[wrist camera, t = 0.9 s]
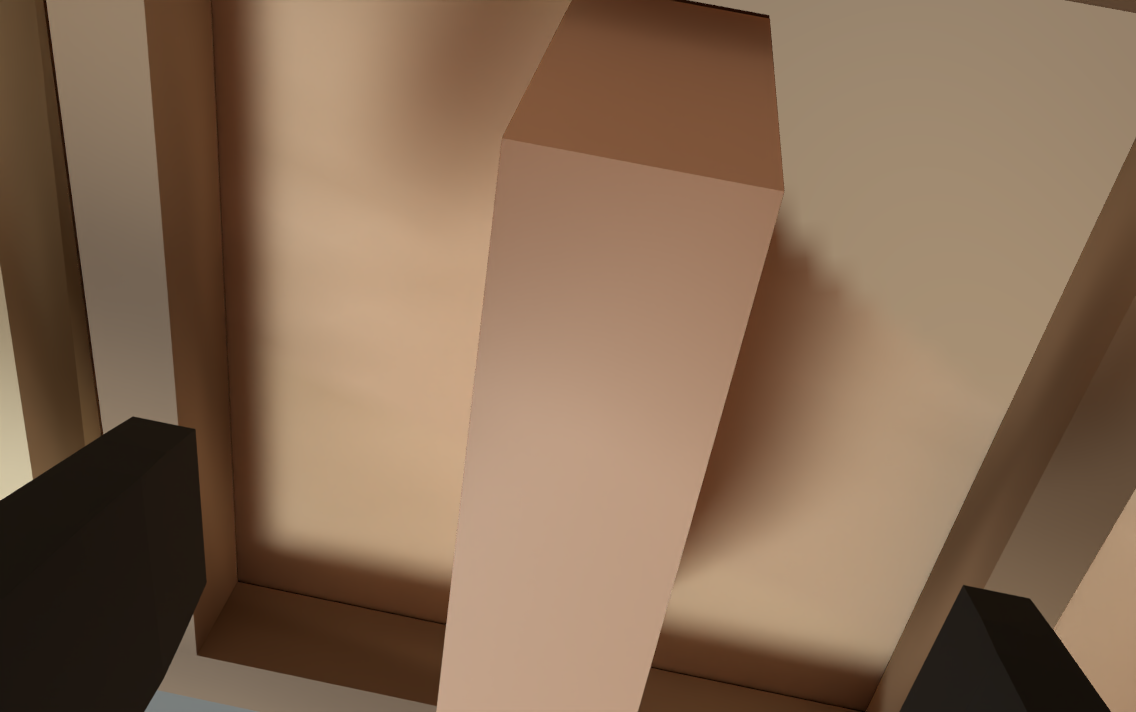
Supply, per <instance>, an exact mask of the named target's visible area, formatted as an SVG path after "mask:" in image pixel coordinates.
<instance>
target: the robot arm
mask: <svg viewBox="0 0 1136 712" xmlns="http://www.w3.org/2000/svg"><path fill="white" fill-rule="evenodd" d="M206 583H207V579H206V566H205V552H204V538H203V524H202V510H201V497H200V483H199V469H198V455H197V441H196V429H193V428H188V427H183V426H178V425H173V424H168V423H163V422H158V421H153V420H149V419H144V418H139V417H134V416H133V417H131V418H129V419H128V420H126V421H124V422H123V423H121V424H120V425H118V426H116V427H115V428H113V429H111V430H110V431H108V432H107V433H105V434H103V435H102V436H100V437H99V438H97V439H96V440H94V441H92V442H91V443H89V444H88V445H86V446H85V447H83V448H82V449H80V450H78V451H77V452H75V453H74V454H72V455H71V456H69V457H67V458H66V459H64V460H63V461H61V462H60V463H58V464H57V465H55V466H53V467H52V468H50V469H49V470H47V471H46V472H44V473H43V474H41V475H39V476H38V477H36V478H35V479H33V480H32V481H30V482H28V483H27V484H25V485H24V486H22V487H21V488H19V489H17V490H16V491H14V492H13V493H11V494H10V495H8V496H6V497H5V498H3V499H2V500H0V712H144V711H145V710H146V708H147V706H148V705H149V703H150V701H151V700H152V698H153V696H154V695H155V693H156V691H157V689H158V688H159V686H160V684H161V683H162V681H163V679H164V677H165V675H166V673H167V671H168V669H169V666H170V664H171V662H172V660H173V658H174V656H175V653H176V651H177V649H178V647H179V645H180V643H181V641H182V638H183V636H184V634H185V632H186V629H187V627H188V625H189V622H190V620H191V618H192V616H193V613H194V611H195V609H196V606H197V604H198V602H199V599H200V597H201V595H202V593H203V590H204V588H205V586H206ZM899 712H1111V711H1110V710H1109V708H1108V707H1107V706H1106V704H1105V703H1104V701H1103V700H1102V698H1101V697H1100V696H1099V694H1098V693H1097V691H1096V690H1095V689H1094V687H1093V686H1092V684H1091V683H1090V681H1089V680H1088V679H1087V677H1086V676H1085V674H1084V673H1083V672H1082V670H1081V669H1080V667H1079V666H1078V664H1077V663H1076V662H1075V660H1074V659H1073V657H1072V656H1071V654H1070V653H1069V652H1068V650H1067V649H1066V647H1065V646H1064V644H1063V643H1062V642H1061V640H1060V639H1059V637H1058V636H1057V635H1056V633H1055V632H1054V630H1053V629H1052V628H1051V626H1050V625H1049V623H1048V622H1047V621H1046V619H1045V618H1044V617H1043V615H1042V614H1041V612H1040V611H1039V610H1038V608H1037V607H1036V606H1035V604H1034V603H1033V602H1032V600H1031V599H1030V598H1025V597H1020V596H1015V595H1010V594H1006V593H1001V592H996V591H991V590H986V589H981V588H976V587H971V586H966V585H963V586H962V588H961V590H960V592H959V594H958V596H957V598H956V600H955V602H954V604H953V606H952V608H951V610H950V612H949V614H948V616H947V618H946V620H945V622H944V624H943V626H942V628H941V630H940V632H939V634H938V636H937V638H936V640H935V642H934V644H933V646H932V648H931V650H930V652H929V654H928V656H927V658H926V660H925V662H924V664H923V666H922V668H921V670H920V672H919V673H918V675H917V677H916V679H915V681H914V683H913V685H912V687H911V689H910V691H909V693H908V695H907V697H906V699H905V701H904V703H903V705H902V707H901V709H900V711H899Z"/></svg>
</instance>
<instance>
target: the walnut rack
mask: <svg viewBox="0 0 1136 712" xmlns="http://www.w3.org/2000/svg"><path fill="white" fill-rule="evenodd" d="M1067 1H1073V2H1079V3H1084V4H1089V5H1095V6H1101V7H1106V8H1112V9H1117V10H1123V11H1128V12H1133V13H1136V0H1067ZM46 2H47V10H48V18H49V25H50V33H51V40H52V48H53V56H54V63H55V71H56V78H57V86H58V94H59V101H60V109H61V116H62V124H63V132H64V139H65V147H66V154H67V162H68V169H69V177H70V185H71V192H72V200H73V207H74V215H75V223H76V230H77V238H78V245H79V253H80V261H81V268H82V276H83V283H84V291H85V299H86V306H87V314H88V321H89V329H90V337H91V344H92V352H93V359H94V367H95V375H96V382H97V390H98V397H99V405H100V413H101V420H102V428H103V434H105V433H107V432H108V431H110V430H111V429H113V428H115V427H116V426H118V425H120V424H121V423H123V422H124V421H126V420H128V419H129V418H131V417H133V416H134V417H139V418H144V419H149V420H153V421H158V422H163V423H168V424H173V425H178V426H183V427H188V428H193V429H196V441H197V455H198V469H199V483H200V497H201V510H202V524H203V538H204V552H205V566H206V579H207V583H206V586H205V588H204V590H203V593H202V595H201V597H200V599H199V602H198V604H197V606H196V609H195V611H194V613H193V616H192V618H191V620H190V622H189V625H188V627H187V629H186V632H185V634H184V636H183V638H182V641H181V643H180V645H179V647H178V649H177V651H176V653H175V656H174V658H173V660H172V662H171V664H170V666H169V669H168V671H167V673H166V675H165V677H164V679H163V681H162V683H161V684H160V686H159V688H158V689H157V690H159V691H164V692H169V693H173V694H178V695H183V696H187V697H192V698H197V699H202V700H206V701H211V702H216V703H220V704H225V705H230V706H234V707H239V708H244V709H249V710H253V711H258V712H436V710H437V701H438V693H439V684H440V675H441V666H442V658H443V649H444V640H445V631H446V625H443V624H438V623H433V622H428V621H423V620H419V619H414V618H409V617H404V616H399V615H395V614H390V613H385V612H380V611H375V610H371V609H366V608H361V607H356V606H351V605H347V604H342V603H337V602H332V601H327V600H322V599H318V598H313V597H308V596H303V595H298V594H294V593H289V592H284V591H279V590H274V589H270V588H265V587H260V586H255V585H250V584H246V583H241V582H238V580H237V559H236V537H235V515H234V493H233V471H232V449H231V427H230V405H229V383H228V362H227V340H226V318H225V296H224V274H223V252H222V230H221V208H220V186H219V164H218V143H217V121H216V99H215V77H214V55H213V33H212V11H211V0H46ZM1135 489H1136V139H1135V141H1134V143H1133V145H1132V147H1131V149H1130V152H1129V154H1128V156H1127V158H1126V160H1125V162H1124V164H1123V166H1122V168H1121V171H1120V173H1119V175H1118V177H1117V179H1116V181H1115V183H1114V185H1113V187H1112V190H1111V192H1110V194H1109V196H1108V198H1107V200H1106V202H1105V204H1104V207H1103V209H1102V211H1101V213H1100V215H1099V217H1098V219H1097V222H1096V224H1095V226H1094V228H1093V230H1092V232H1091V234H1090V236H1089V239H1088V241H1087V243H1086V245H1085V247H1084V249H1083V251H1082V253H1081V256H1080V258H1079V260H1078V262H1077V264H1076V266H1075V268H1074V270H1073V273H1072V275H1071V277H1070V279H1069V281H1068V283H1067V285H1066V287H1065V289H1064V292H1063V294H1062V296H1061V298H1060V300H1059V302H1058V304H1057V306H1056V309H1055V311H1054V313H1053V315H1052V317H1051V319H1050V321H1049V323H1048V326H1047V328H1046V330H1045V332H1044V334H1043V336H1042V338H1041V340H1040V343H1039V345H1038V347H1037V349H1036V351H1035V354H1034V356H1033V357H1032V360H1031V362H1030V364H1029V366H1028V368H1027V370H1026V372H1025V374H1024V377H1023V379H1022V381H1021V383H1020V385H1019V387H1018V389H1017V391H1016V394H1015V396H1014V398H1013V400H1012V402H1011V404H1010V406H1009V408H1008V411H1007V413H1006V415H1005V417H1004V419H1003V421H1002V423H1001V425H1000V428H999V430H998V432H997V434H996V436H995V438H994V440H993V442H992V445H991V447H990V449H989V451H988V453H987V455H986V457H985V459H984V462H983V464H982V466H981V468H980V470H979V472H978V474H977V476H976V479H975V481H974V483H973V485H972V487H971V489H970V491H969V493H968V496H967V498H966V500H965V502H964V504H963V506H962V508H961V510H960V512H959V515H958V517H957V519H956V521H955V523H954V525H953V527H952V529H951V532H950V534H949V536H948V538H947V540H946V542H945V544H944V546H943V549H942V551H941V553H940V555H939V557H938V559H937V561H936V563H935V566H934V568H933V570H932V572H931V574H930V576H929V578H928V580H927V583H926V585H925V587H924V589H923V591H922V593H921V595H920V597H919V600H918V602H917V604H916V606H915V608H914V610H913V612H912V614H911V617H910V619H909V621H908V623H907V625H906V627H905V629H904V631H903V634H902V636H901V638H900V640H899V642H898V644H897V646H896V648H895V651H894V653H893V655H892V657H891V659H890V661H889V663H888V665H887V668H886V670H885V672H884V674H883V676H882V678H881V680H880V682H879V685H878V687H877V689H876V691H875V693H874V695H873V697H872V699H871V702H870V704H869V706H868V708H867V710H866V712H899V711H900V709H901V707H902V705H903V703H904V701H905V699H906V697H907V695H908V693H909V691H910V689H911V687H912V685H913V683H914V681H915V679H916V677H917V675H918V673H919V672H920V670H921V668H922V666H923V664H924V662H925V660H926V658H927V656H928V654H929V652H930V650H931V648H932V646H933V644H934V642H935V640H936V638H937V636H938V634H939V632H940V630H941V628H942V626H943V624H944V622H945V620H946V618H947V616H948V614H949V612H950V610H951V608H952V606H953V604H954V602H955V600H956V598H957V596H958V594H959V592H960V590H961V588H962V586H963V585H966V586H971V587H976V588H981V589H986V590H991V591H996V592H1001V593H1006V594H1010V595H1015V596H1020V597H1025V598H1030V599H1031V600H1032V602H1033V603H1034V604H1035V606H1036V607H1037V608H1038V610H1039V611H1040V612H1041V614H1042V615H1043V617H1044V618H1045V619H1046V621H1047V622H1048V623H1049V625H1050V626H1051V628H1052V629H1054V627H1055V625H1056V623H1057V622H1058V620H1059V618H1060V617H1061V615H1062V613H1063V611H1064V610H1065V608H1066V606H1067V605H1068V603H1069V601H1070V600H1071V598H1072V596H1073V594H1074V593H1075V591H1076V589H1077V588H1078V586H1079V584H1080V582H1081V581H1082V579H1083V577H1084V576H1085V574H1086V572H1087V571H1088V569H1089V567H1090V565H1091V564H1092V562H1093V560H1094V559H1095V557H1096V555H1097V553H1098V552H1099V550H1100V548H1101V547H1102V545H1103V543H1104V542H1105V540H1106V538H1107V536H1108V535H1109V533H1110V531H1111V530H1112V528H1113V526H1114V524H1115V523H1116V521H1117V519H1118V518H1119V516H1120V514H1121V513H1122V511H1123V509H1124V507H1125V506H1126V504H1127V502H1128V501H1129V499H1130V497H1131V495H1132V494H1133V492H1134V490H1135ZM638 712H860V711H856V710H851V709H846V708H841V707H836V706H832V705H827V704H822V703H817V702H812V701H807V700H803V699H798V698H793V697H788V696H783V695H779V694H774V693H769V692H764V691H759V690H755V689H750V688H745V687H740V686H735V685H731V684H726V683H721V682H716V681H711V680H707V679H702V678H697V677H692V676H687V675H683V674H678V673H673V672H668V671H663V670H659V669H654V668H650V671H649V674H648V678H647V681H646V685H645V688H644V692H643V695H642V699H641V702H640V706H639V710H638Z"/></svg>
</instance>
